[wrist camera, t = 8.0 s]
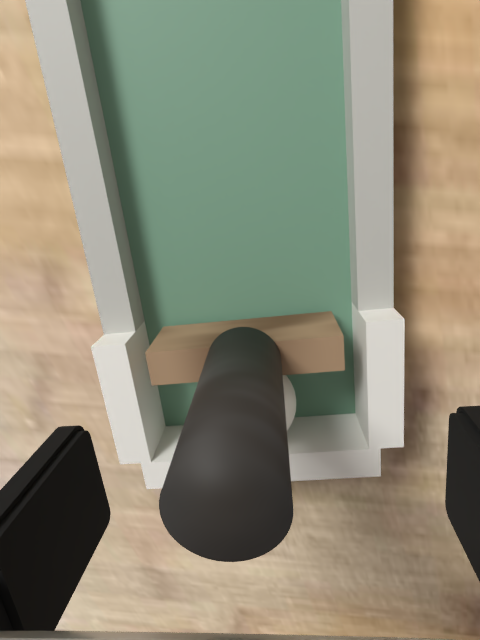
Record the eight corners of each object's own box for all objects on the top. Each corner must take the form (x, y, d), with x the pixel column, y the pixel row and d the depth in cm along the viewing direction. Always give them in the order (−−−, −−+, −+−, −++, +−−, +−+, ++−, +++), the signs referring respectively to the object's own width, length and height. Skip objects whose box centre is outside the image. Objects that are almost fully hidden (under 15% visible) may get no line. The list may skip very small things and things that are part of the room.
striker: (330, 295, 19) (411, 441, 8) (333, 355, 20) (409, 555, 9) (160, 311, 20) (37, 464, 9) (171, 368, 21) (71, 568, 10)
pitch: (373, -145, 15) (408, -253, 11) (380, 425, 23) (403, 475, 19) (35, -79, 16) (-35, -157, 13) (148, 440, 24) (126, 490, 20)
